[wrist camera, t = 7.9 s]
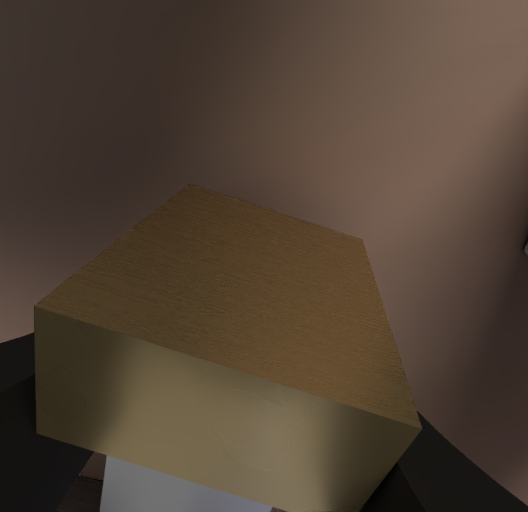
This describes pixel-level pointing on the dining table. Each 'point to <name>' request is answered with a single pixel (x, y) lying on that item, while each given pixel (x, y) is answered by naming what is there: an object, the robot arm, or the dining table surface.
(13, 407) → the robot arm
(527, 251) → the coffee box
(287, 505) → the lever
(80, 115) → the dining table surface
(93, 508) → the housing
